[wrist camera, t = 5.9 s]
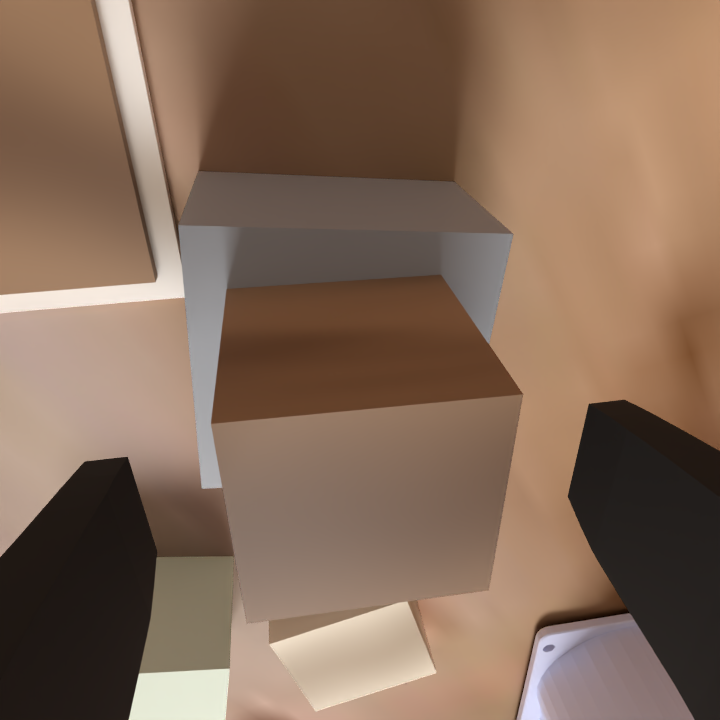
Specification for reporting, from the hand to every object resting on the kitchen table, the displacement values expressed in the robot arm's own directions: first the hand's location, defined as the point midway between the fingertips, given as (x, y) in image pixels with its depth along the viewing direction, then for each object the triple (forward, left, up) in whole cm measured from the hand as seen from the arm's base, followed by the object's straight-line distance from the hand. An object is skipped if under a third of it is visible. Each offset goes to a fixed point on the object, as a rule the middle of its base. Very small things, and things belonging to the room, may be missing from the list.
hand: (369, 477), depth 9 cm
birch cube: (-10, 0, -7) cm, 12 cm away
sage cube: (-11, +6, -7) cm, 14 cm away
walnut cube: (0, 0, -3) cm, 3 cm away
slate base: (0, 0, -7) cm, 7 cm away
